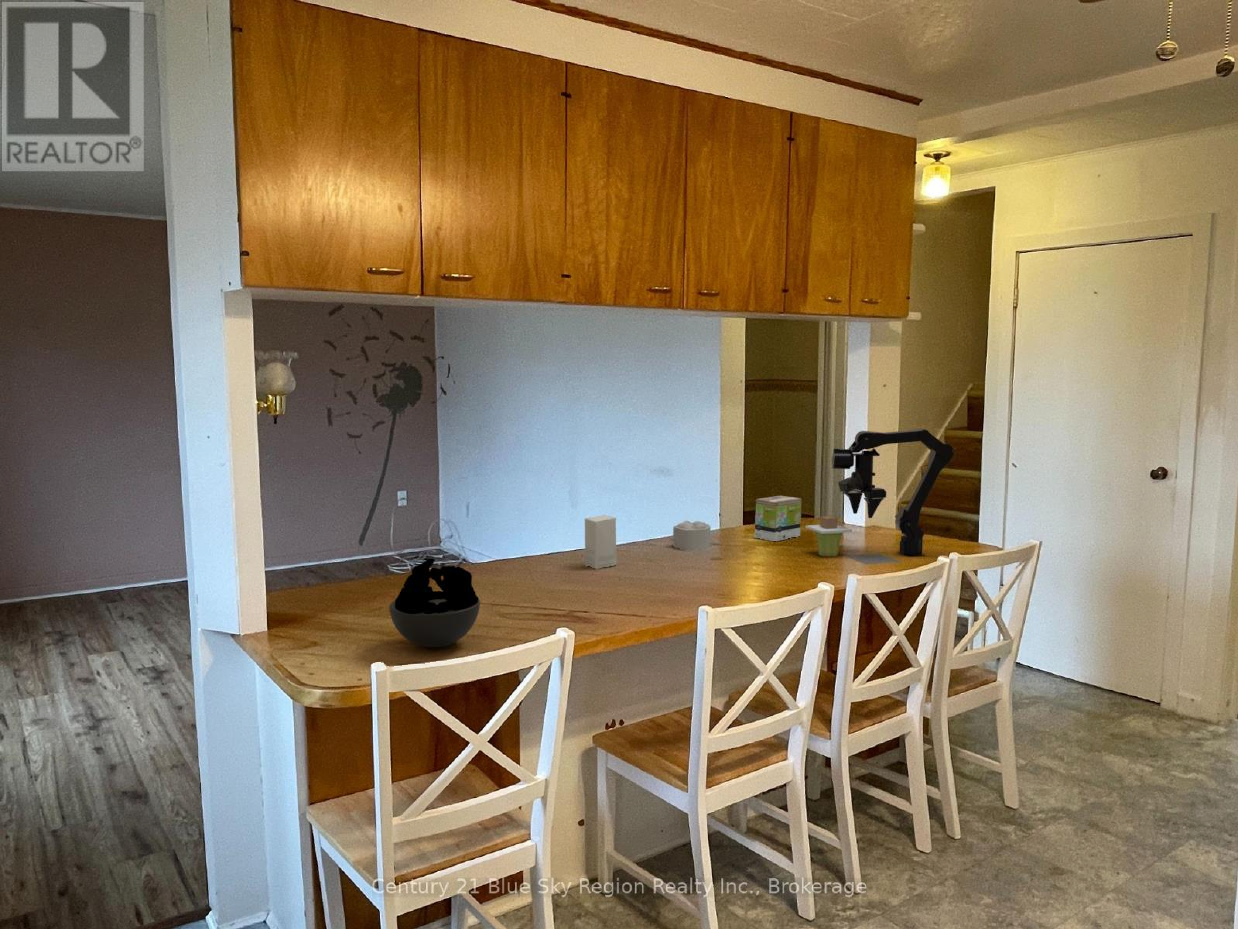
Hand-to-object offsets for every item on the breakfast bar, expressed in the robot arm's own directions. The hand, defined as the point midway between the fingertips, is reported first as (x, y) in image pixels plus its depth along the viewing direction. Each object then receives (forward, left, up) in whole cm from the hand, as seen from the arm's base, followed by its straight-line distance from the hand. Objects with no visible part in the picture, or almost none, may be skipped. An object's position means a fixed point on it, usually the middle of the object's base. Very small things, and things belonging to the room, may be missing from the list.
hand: (862, 515), depth 292 cm
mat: (+1, +9, -13) cm, 16 cm away
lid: (+12, -1, -4) cm, 12 cm away
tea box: (+14, -34, -13) cm, 39 cm away
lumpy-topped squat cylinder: (+49, -28, -13) cm, 58 cm away
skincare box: (+88, -8, -13) cm, 89 cm away
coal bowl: (+144, +58, -13) cm, 156 cm away
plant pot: (+11, -1, -13) cm, 18 cm away
